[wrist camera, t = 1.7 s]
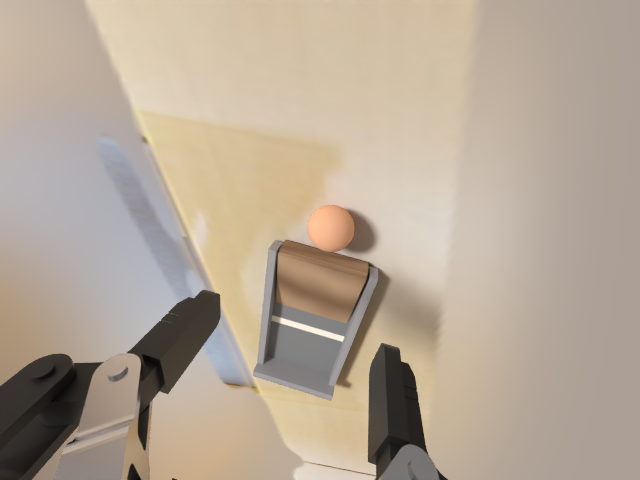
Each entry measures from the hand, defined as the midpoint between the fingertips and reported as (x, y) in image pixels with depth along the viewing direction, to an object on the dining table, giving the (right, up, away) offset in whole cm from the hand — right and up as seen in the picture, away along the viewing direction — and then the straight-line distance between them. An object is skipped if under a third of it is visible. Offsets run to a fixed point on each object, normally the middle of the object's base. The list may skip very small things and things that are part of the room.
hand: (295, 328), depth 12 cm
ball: (+2, +5, +9) cm, 11 cm away
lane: (0, -6, +18) cm, 19 cm away
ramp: (+1, 0, +15) cm, 15 cm away
